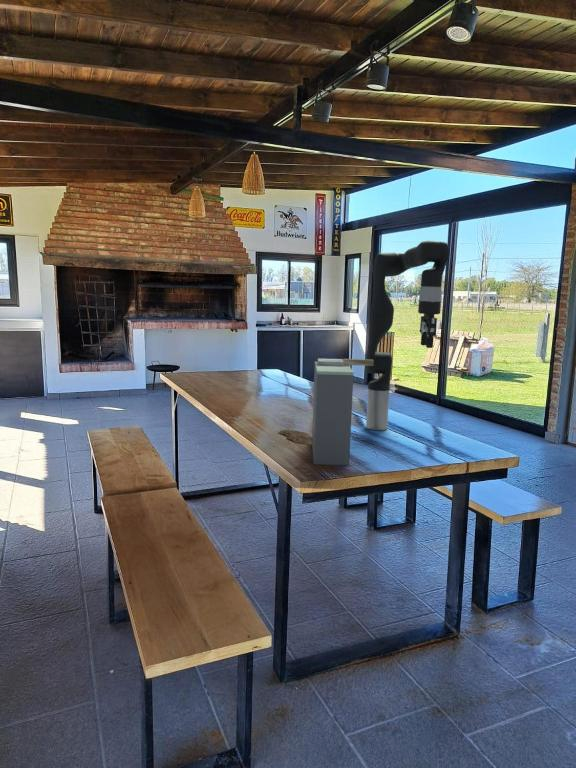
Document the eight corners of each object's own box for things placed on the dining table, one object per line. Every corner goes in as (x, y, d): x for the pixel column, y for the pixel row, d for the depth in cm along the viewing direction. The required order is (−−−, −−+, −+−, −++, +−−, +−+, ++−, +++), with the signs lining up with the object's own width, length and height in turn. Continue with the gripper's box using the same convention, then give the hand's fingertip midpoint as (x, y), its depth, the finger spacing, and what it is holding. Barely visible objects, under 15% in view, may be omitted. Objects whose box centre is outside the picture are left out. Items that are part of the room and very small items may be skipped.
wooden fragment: (274, 431, 229) (274, 428, 229) (298, 429, 233) (298, 427, 233) (298, 448, 206) (298, 445, 206) (325, 446, 210) (325, 443, 210)
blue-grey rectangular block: (311, 443, 211) (314, 361, 206) (342, 444, 211) (346, 362, 206) (313, 464, 186) (317, 371, 180) (349, 465, 186) (353, 372, 180)
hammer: (317, 362, 203) (317, 357, 203) (371, 364, 203) (371, 358, 203) (318, 365, 195) (318, 359, 195) (374, 366, 195) (374, 361, 195)
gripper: (415, 299, 197) (411, 344, 200) (423, 300, 183) (420, 348, 186) (435, 300, 197) (432, 344, 199) (446, 300, 183) (442, 349, 185)
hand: (426, 346), depth 193 cm, fingers open, 8 cm apart
